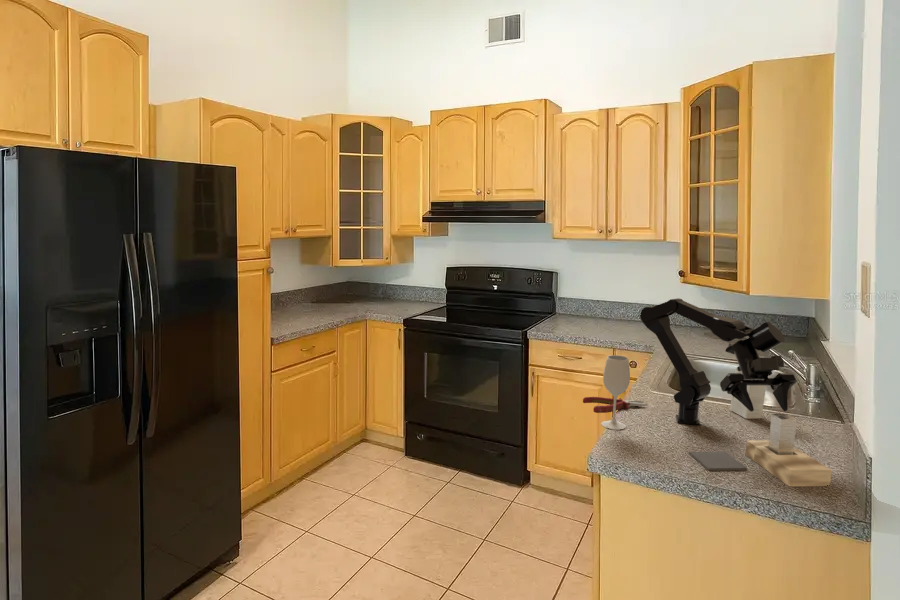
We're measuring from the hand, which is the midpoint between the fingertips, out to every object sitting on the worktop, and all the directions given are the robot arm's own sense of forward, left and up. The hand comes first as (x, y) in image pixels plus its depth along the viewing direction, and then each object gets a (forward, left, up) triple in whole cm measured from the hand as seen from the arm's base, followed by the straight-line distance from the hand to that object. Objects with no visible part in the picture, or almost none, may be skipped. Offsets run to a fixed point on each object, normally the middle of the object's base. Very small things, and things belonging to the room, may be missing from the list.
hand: (769, 410), depth 150 cm
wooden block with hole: (+8, +3, -12) cm, 15 cm away
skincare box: (-34, +2, -12) cm, 36 cm away
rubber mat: (+9, -13, -12) cm, 20 cm away
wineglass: (-9, -39, -12) cm, 42 cm away
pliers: (-26, -38, -13) cm, 48 cm away
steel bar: (+6, +2, -12) cm, 14 cm away
